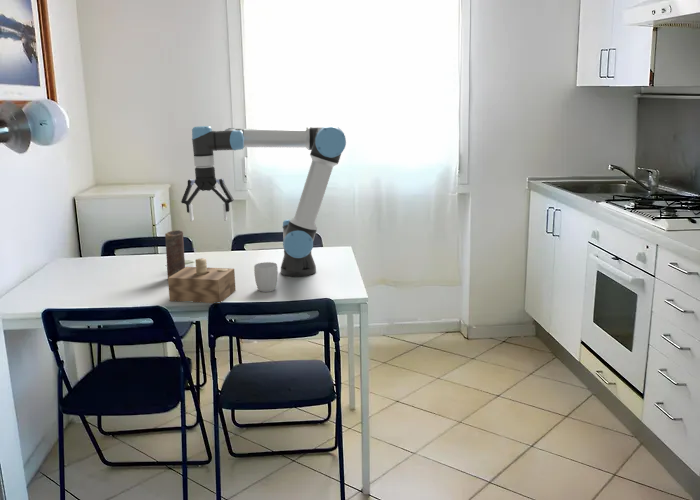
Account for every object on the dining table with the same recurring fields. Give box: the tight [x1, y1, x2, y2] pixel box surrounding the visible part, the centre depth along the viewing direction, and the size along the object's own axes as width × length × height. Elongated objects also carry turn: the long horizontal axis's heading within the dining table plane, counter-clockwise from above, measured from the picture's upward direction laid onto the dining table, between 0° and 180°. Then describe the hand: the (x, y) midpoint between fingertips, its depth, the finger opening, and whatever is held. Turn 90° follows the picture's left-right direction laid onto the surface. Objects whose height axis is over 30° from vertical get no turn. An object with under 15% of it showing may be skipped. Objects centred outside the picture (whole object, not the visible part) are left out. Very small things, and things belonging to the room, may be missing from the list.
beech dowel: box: [195, 257, 208, 275], centre depth 256 cm, size 4×4×9 cm
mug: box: [253, 261, 279, 293], centre depth 266 cm, size 13×9×10 cm
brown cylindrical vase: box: [164, 229, 186, 278], centre depth 281 cm, size 8×7×20 cm
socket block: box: [167, 266, 237, 304], centre depth 258 cm, size 20×16×9 cm
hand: (209, 220), depth 267 cm, fingers open, 13 cm apart
